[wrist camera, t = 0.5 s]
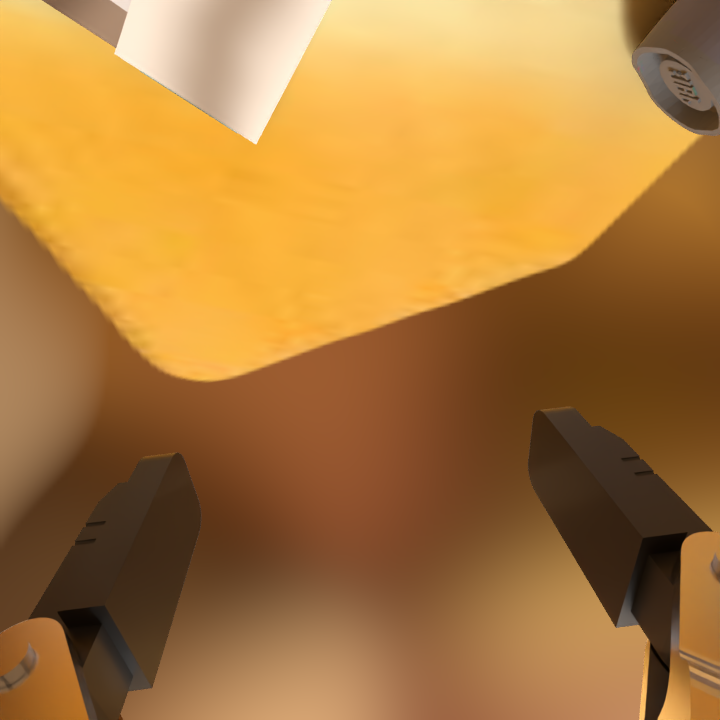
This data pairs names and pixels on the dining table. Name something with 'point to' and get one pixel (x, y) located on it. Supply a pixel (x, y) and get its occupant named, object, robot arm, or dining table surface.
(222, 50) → the twin cube bracket
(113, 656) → the robot arm
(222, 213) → the dining table surface
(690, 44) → the bluetooth speaker
